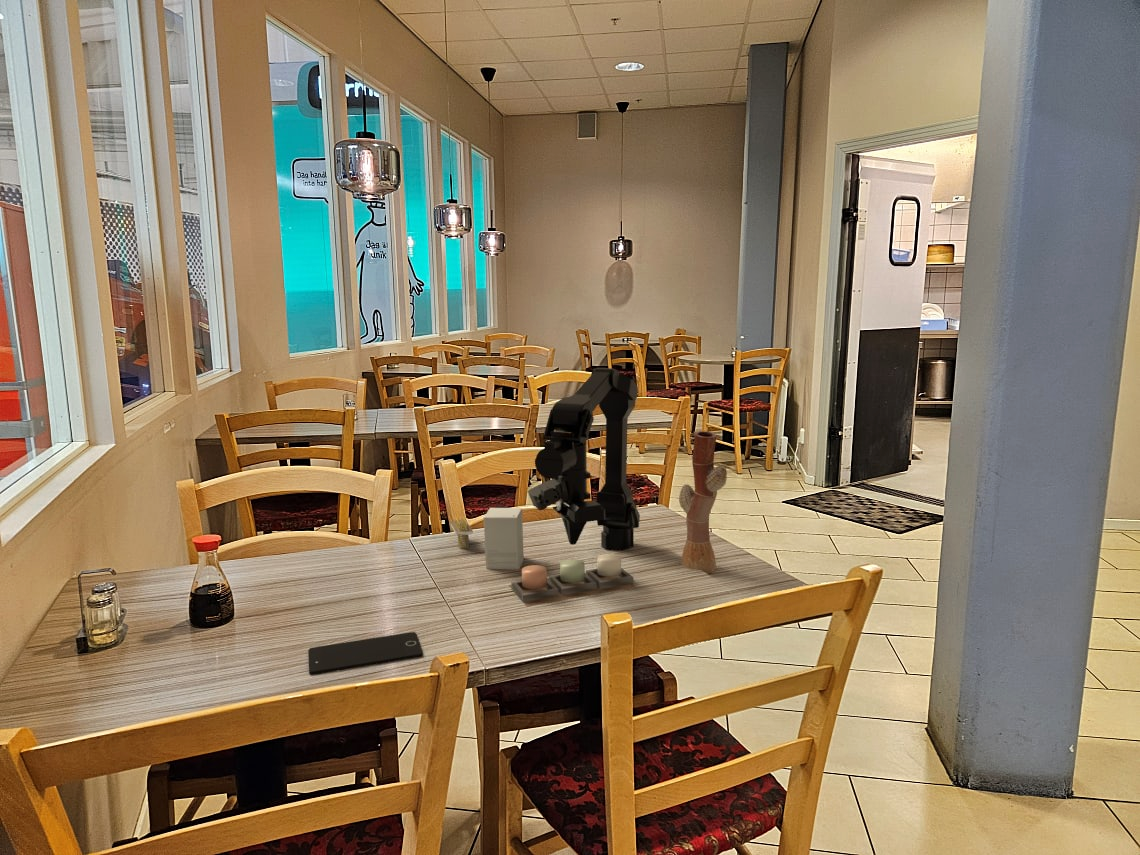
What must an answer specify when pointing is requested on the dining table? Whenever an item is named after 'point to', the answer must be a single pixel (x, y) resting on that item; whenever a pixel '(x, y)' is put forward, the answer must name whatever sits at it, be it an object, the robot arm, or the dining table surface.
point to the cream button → (609, 565)
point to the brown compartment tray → (572, 587)
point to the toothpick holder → (462, 531)
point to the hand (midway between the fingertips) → (572, 544)
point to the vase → (701, 503)
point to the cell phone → (363, 653)
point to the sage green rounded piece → (572, 571)
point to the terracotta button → (534, 577)
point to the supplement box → (503, 538)
